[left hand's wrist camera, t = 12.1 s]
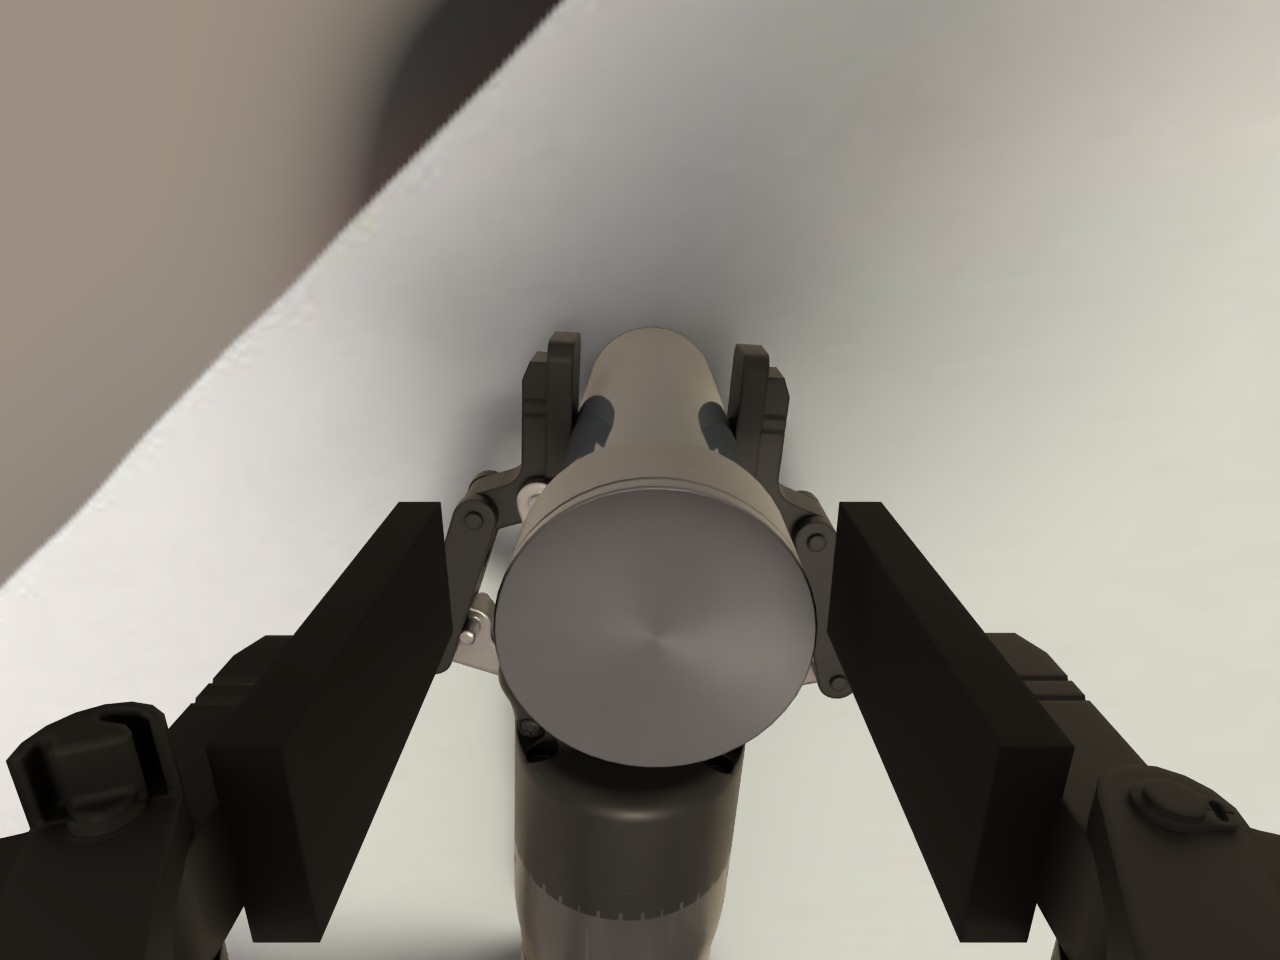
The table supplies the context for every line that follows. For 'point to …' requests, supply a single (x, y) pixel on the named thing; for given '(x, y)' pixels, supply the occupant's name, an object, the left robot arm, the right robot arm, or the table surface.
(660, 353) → the grey cylindrical bottle
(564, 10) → the table surface
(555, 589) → the lid
